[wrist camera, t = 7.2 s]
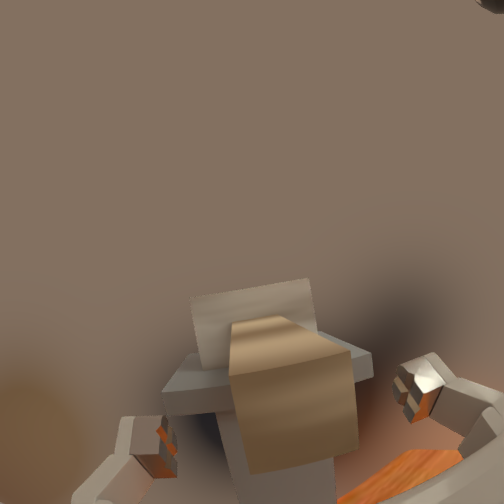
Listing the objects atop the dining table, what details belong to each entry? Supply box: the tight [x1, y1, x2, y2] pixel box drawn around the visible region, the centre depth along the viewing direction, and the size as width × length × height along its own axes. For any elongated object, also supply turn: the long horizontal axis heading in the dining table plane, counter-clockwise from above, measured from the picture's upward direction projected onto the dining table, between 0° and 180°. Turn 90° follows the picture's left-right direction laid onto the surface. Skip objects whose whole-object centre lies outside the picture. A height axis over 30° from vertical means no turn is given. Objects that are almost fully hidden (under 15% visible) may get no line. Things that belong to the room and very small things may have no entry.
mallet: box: [189, 278, 359, 475], centre depth 16 cm, size 18×8×5 cm, turn 3°
